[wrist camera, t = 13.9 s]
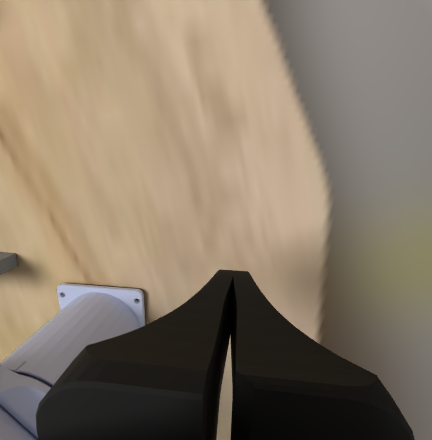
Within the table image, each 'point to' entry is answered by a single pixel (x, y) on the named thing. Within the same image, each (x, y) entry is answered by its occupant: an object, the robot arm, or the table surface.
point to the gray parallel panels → (7, 261)
